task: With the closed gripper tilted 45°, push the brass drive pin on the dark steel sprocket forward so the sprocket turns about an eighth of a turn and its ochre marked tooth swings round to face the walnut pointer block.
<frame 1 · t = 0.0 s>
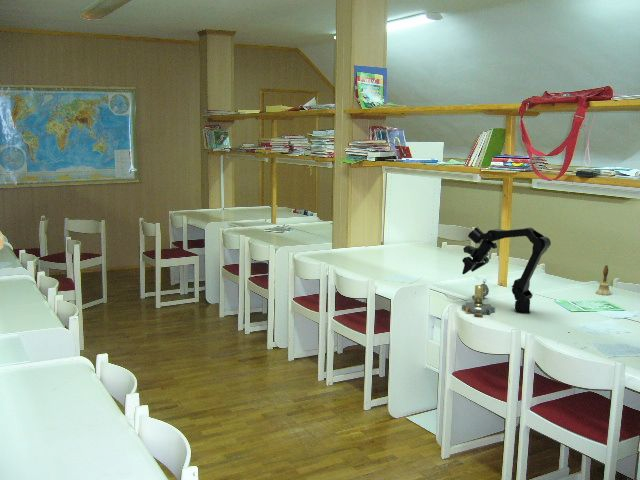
hand: (467, 272, 348), 15 cm above the table, tool tilted 35°, fingers open, 9 cm apart
pointer: (478, 316, 320), on the table
pocket watch: (480, 298, 356), on the table
hand bell: (603, 293, 371), on the table
sprocket: (478, 299, 329), point 6 cm above the table, hinge at 0.0°
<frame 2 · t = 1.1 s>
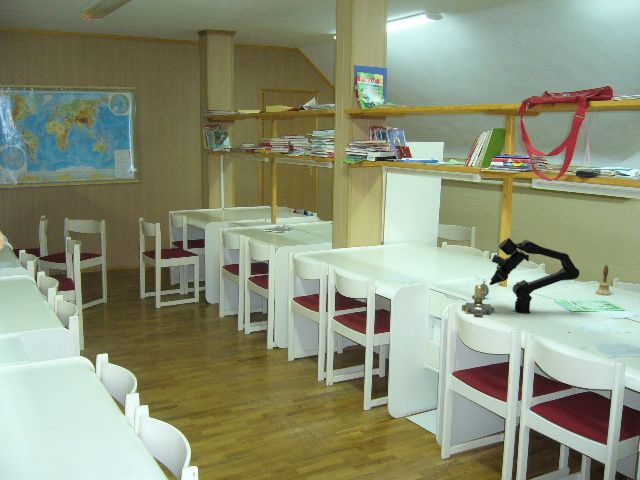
hand: (490, 282, 332), 13 cm above the table, tool tilted 40°, fingers open, 9 cm apart
nothing on the table moved.
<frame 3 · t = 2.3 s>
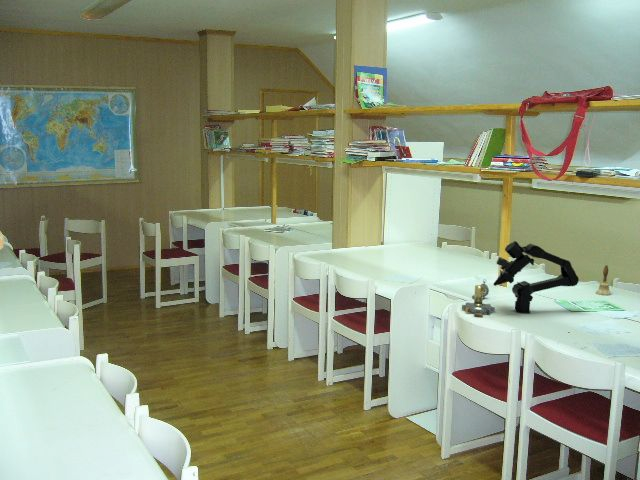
hand: (493, 284, 331), 13 cm above the table, tool tilted 45°, fingers closed
nothing on the table moved.
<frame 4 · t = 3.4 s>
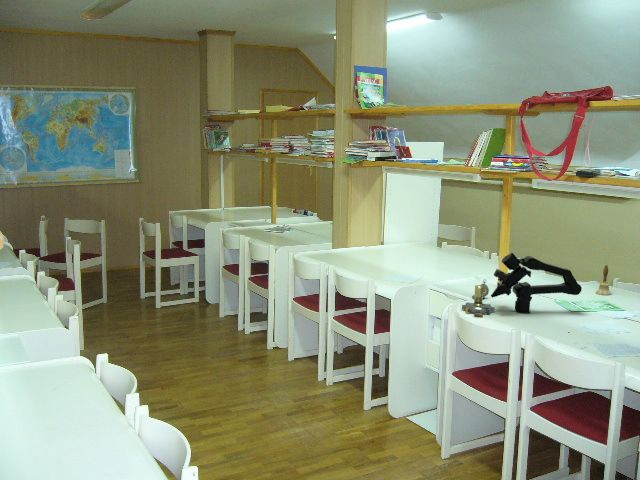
hand: (491, 296, 332), 7 cm above the table, tool tilted 45°, fingers closed
nothing on the table moved.
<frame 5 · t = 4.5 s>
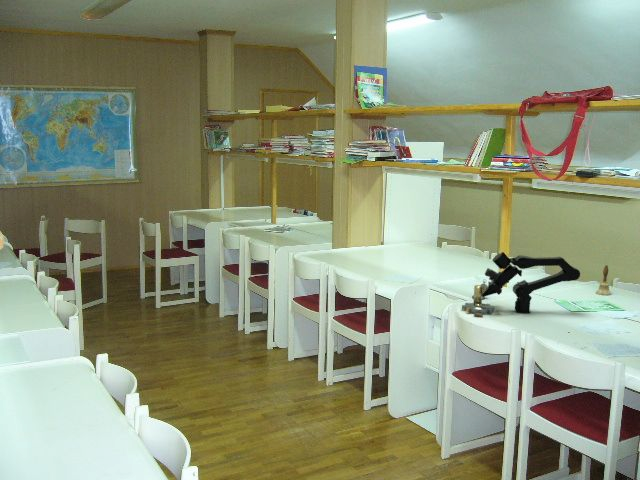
hand: (482, 295, 332), 7 cm above the table, tool tilted 45°, fingers closed
sprocket: (478, 299, 329), point 6 cm above the table, hinge at 3.9°, touching gripper
everything else where it was.
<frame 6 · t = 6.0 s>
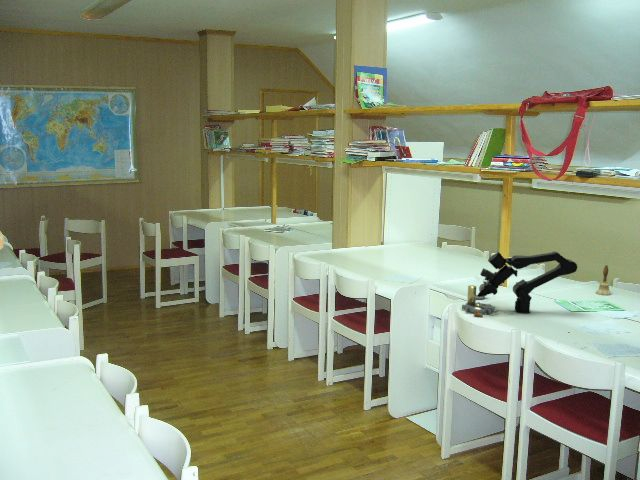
hand: (478, 296, 333), 7 cm above the table, tool tilted 45°, fingers closed
sprocket: (478, 299, 329), point 6 cm above the table, hinge at 42.5°
everything else where it was.
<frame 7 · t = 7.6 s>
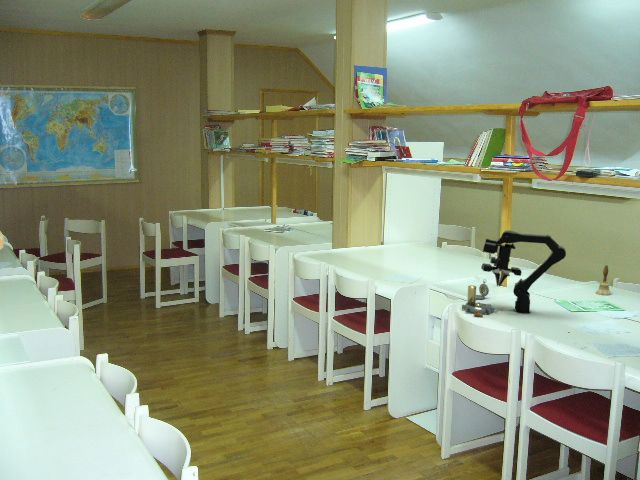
hand: (498, 286, 333), 12 cm above the table, tool pointing down, fingers closed
nothing on the table moved.
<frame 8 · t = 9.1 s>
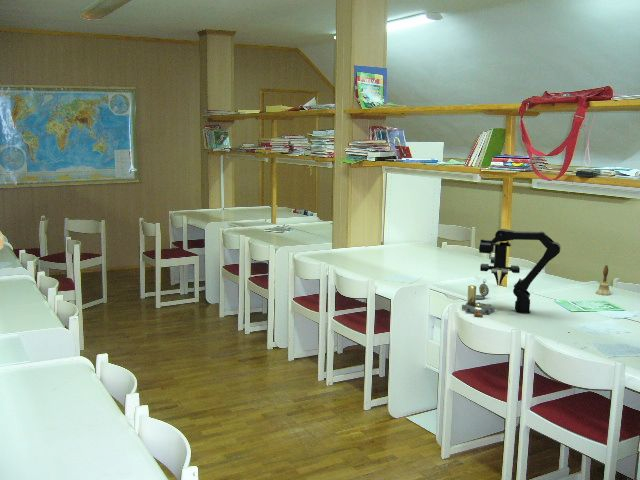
hand: (498, 285, 333), 12 cm above the table, tool pointing down, fingers closed
nothing on the table moved.
at the end: sprocket at +42° (first picture: +0°); pocket watch moved 0.2 cm from its start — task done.
